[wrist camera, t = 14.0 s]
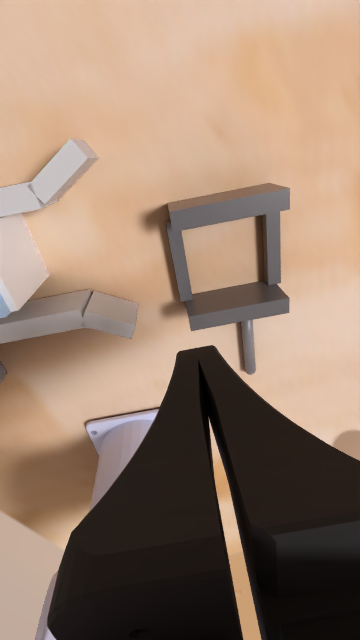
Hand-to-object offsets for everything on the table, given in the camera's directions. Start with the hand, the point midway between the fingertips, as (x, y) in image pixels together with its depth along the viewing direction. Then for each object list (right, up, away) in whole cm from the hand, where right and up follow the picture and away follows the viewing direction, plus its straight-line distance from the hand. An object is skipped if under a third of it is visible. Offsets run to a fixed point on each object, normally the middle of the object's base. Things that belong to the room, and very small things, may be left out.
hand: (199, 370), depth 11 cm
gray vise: (+3, +3, +10) cm, 11 cm away
